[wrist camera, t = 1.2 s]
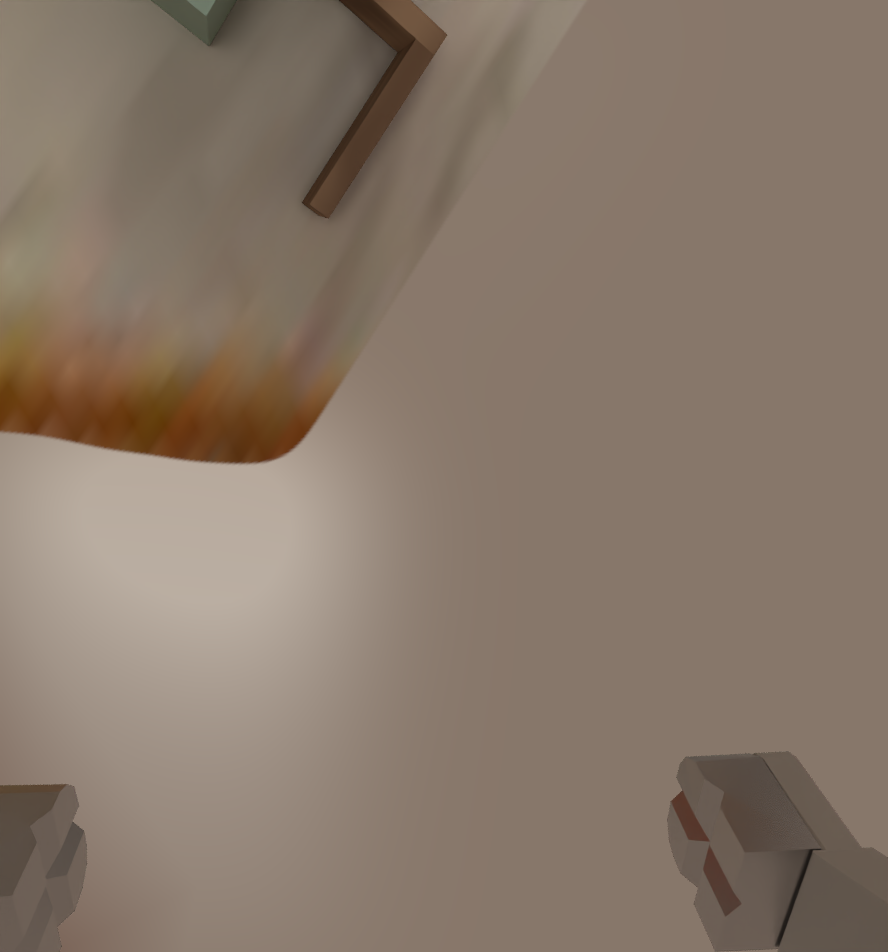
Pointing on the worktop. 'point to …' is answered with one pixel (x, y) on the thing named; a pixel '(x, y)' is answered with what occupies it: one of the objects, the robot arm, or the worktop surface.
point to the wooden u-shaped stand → (378, 92)
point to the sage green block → (198, 15)
